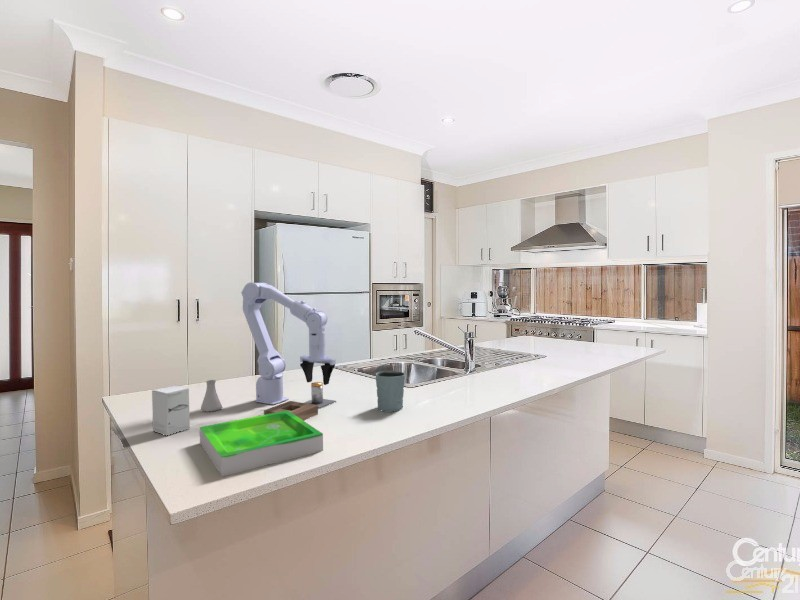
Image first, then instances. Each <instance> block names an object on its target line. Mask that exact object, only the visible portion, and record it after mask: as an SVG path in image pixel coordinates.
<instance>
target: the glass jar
mask: <svg viewBox="0 0 800 600" xmlns="http://www.w3.org/2000/svg"><path fill="white" fill-rule="evenodd" d="M310 383H311V384H310V388H311V389H310V392H311V396H310V397H311V400H312V404H322V403H323V399H324V384H323V382H321V381H315V382H310Z"/></svg>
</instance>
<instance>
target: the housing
mask: <svg viewBox="0 0 800 600" xmlns="http://www.w3.org/2000/svg"><path fill="white" fill-rule="evenodd" d="M282 411H289V412H291V413H292V414H294V415H295V416H297V417H298V418H300V419H301V420H303V421H306V420H308V419H310V417H311V418H312V417H315V416H317V415H319V408H318V405H313V404H307V403H304V402H300V401H294V400H293V401H292V400H287V401H286V402H284V403H280V404H278V405H275V406H273V407H269V408H267V409H264V410H263V415H266V414H272V413H277V412H282Z"/></svg>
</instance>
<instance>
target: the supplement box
mask: <svg viewBox="0 0 800 600" xmlns="http://www.w3.org/2000/svg"><path fill="white" fill-rule="evenodd" d="M151 402H152V405H151V406H152V409H151V410H152V431H155V432H158V433H161V434H164V435H166V436H165V437H168V436H171V435H174V434H176V432H177V433H180V432H179V431H181V432H183V430H184V431H187V430H186V429H188V430H190V429H189V428H190V427H191V426H190V425H191V424H190V422H191V420H190V416H191V415H190V389H189V387H185V386H180V385H179V386H178V385H172V386H166V387H162V388H157V389H153V390H151ZM155 432H154V433H155ZM158 433H157V434H158ZM173 433H174V434H173ZM161 434H160V435H161ZM170 434H171V435H170ZM164 435H163V436H164ZM167 435H168V436H167Z"/></svg>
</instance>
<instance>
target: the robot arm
mask: <svg viewBox="0 0 800 600" xmlns="http://www.w3.org/2000/svg"><path fill="white" fill-rule="evenodd" d="M240 294H241V296H242V311H243V314H244V316H245V320H246V323H247V324H248V327H249V330H250V332H251V335H252V338H253V341H254V343H255V346H256V349H257V351H258V354H259V355H258V358H257V361H256V362H257V365H258V373H259V375H260V376H259V377H258V378H257V380H256V383H255V392H256V396H255V397H256V399H254V402H256V403H261V404H268V405H276V404H279V403H282V402H285V401H289V397H284V378H283V377H284V374H283V373H284V371H285V370H286V367H287V363H286V361H285V359H284V358H283V357H282V356H281V354H280V352H279V351H277V350H276V349H275V347H274V345H273V343H272V340H271V337H270V335H269V332H268V329H267V326H266V324H265V321H264V319H263V316H262V313H261V310H260V309H261V307H262V305H263V304H264V303H265V302H266V301H267V300H268V299H269V300H272V301H274V302H276V303H277V304H279V305H281V306H283V307H285V308H286V309H289V311H290V314H291V315H292V316H294V317H296V318H298V320H300V321H302V322H304V323H305V324H306V326H307V328H308V352H309V353H308V355H300V356H299V362H301V363H300V364H299V365H300V368H301V370H302V371H303V373H304V376H305V380H306V383H313V371H314V365H315V364H322V365H320V368H321V373H322V381H323V382H322V383H323V386H326V385H327V386H328V385H329V383H330V380H331V375H332V372H333V370H334V369H335V367H336V358H332V357H328V356H326V326H325V325H327V322H328V316H327V314H326V313H325V312H324V311H323V310H317V308H316V307H312V306H310V305H309V304H307V303H306V301H305V300H294V299H292V298H291V297H289V296H288V295H286V294H285V293H284V292H282V291H280V290H279V289H277V287H275V286H274V285H271V284H268V283H267V282H263V281H262V282H248V283H246V284H245V285H244V287H243V288H242V290H241V292H240Z"/></svg>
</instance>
